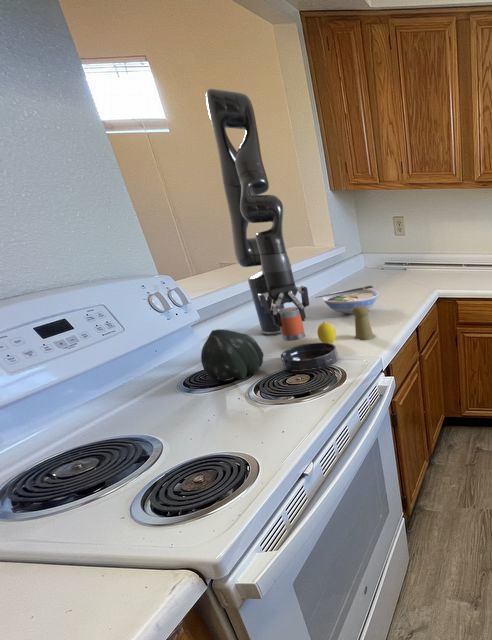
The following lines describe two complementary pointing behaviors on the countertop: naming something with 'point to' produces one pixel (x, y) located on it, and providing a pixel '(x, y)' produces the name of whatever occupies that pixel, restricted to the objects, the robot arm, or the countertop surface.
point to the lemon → (326, 333)
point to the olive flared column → (362, 323)
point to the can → (291, 324)
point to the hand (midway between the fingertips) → (290, 323)
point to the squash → (230, 355)
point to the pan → (309, 357)
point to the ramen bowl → (351, 299)
